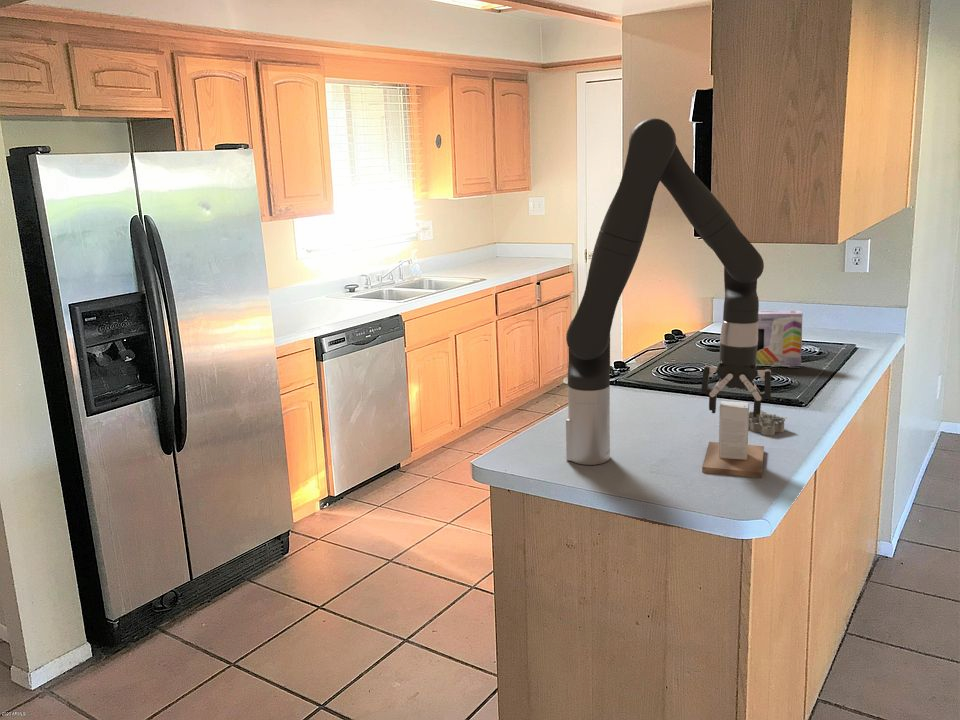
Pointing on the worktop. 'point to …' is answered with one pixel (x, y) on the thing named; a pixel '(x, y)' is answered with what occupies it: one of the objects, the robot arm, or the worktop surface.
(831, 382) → the worktop surface
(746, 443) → the skincare box
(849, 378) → the worktop surface
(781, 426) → the egg carton
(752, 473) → the wooden board
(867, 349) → the worktop surface
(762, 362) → the cake pan box
